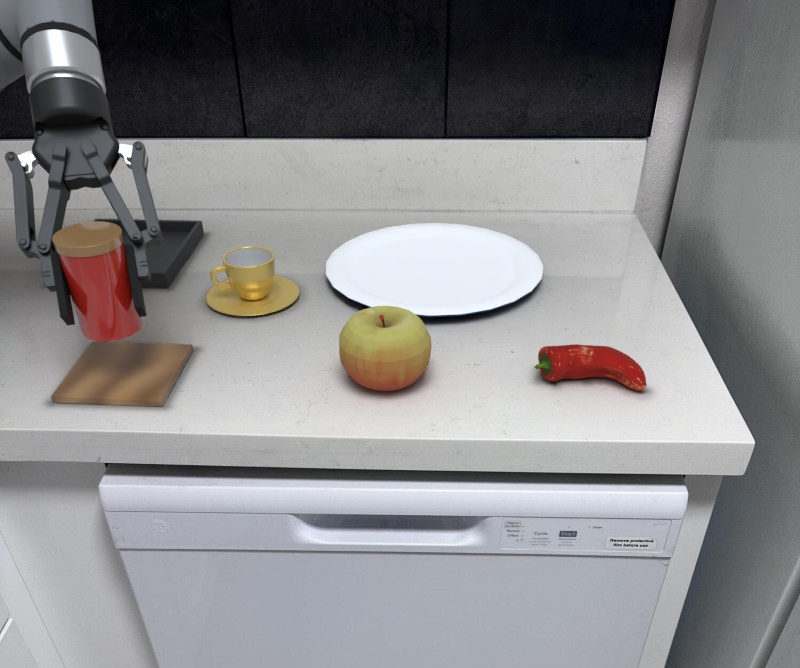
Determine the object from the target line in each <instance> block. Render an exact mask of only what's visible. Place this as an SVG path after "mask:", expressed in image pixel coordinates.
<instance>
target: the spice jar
mask: <svg viewBox="0 0 800 668" xmlns="http://www.w3.org/2000/svg"><path fill="white" fill-rule="evenodd" d="M93 221H94V220H93ZM93 221H84V222H78V223H75V224H71V225H67V226H64V227H62V229H61V230H59V231H57V232H56V233H55V234H54V235H53V237H52V241H53V244H54V248H55V250H56V252H57V254H58V257H59V260H60V263H61V266H62V270H63V273H64V276H65V279H66V282H67V286H68V289H69V292H70V296H71V303H72V306H73V308H74V311H75V314H76V317H77V321H78V324H79V328H80V330H81V334H82V335H83V337H85V338H86V339H88V340H90V341H100V342H118V341H121V340H124V339H128V338H130V337H132V336H134V335H136V334H138V333H139V332H140V331H141V330H142V329H143V328H144V326H145V321H144V317H139V316H138V314H137V312H136V310H135V307H134V301H133V295H132V289H131V283H130V277H129V271H128V265H127V259H126V253H125V247H124V237H123V233H122V229H121V228H120V227H119V226H118V225H116V224H114V223H110V222H100V221H94V222H93Z"/></svg>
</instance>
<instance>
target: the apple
mask: <svg viewBox="0 0 800 668" xmlns="http://www.w3.org/2000/svg"><path fill="white" fill-rule="evenodd" d="M338 343H339V345H338V346H339V347H338V355H339V359H340V360H339V361H340V364H341V366H342V367H343V369H344V370H345V371H346V372H347V374H348V376H350V378H351V379H352V380H353V381H354V382H355V383H356V384H358V385H360V386H362V387H364V388H367V389H368V390H373V391H378V392H392V391H398V390H402V389H404V388H406V387H409V386H410V385H412V384H414V383H415V382H416V381H417V380H418V379H419V378H420V377H422V376H423V374H425V371H427V368H428V366H429V365H430V359H431V354H432V336H431V334H430V333H429V331H428V328H427V326H426V325H425V323H424V321H423V320H422V318H421V317H420V316H417V315H415V314H414V313H412V312H411V311H409V310H406V309H403V308H400V307H393V306H375V307H371V308H369V307H366V308H364V309H361V310H359V311H357V312H356V313H353V314H352V316H350V317H349V319H348V320H347V321H346V323H345V324H344V325H343V326H342V328H341V330H340V333H339V339H338Z"/></svg>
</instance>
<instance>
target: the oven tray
mask: <svg viewBox="0 0 800 668" xmlns="http://www.w3.org/2000/svg"><path fill="white" fill-rule="evenodd" d="M133 219H134V221H135V223H136V225H137V227H138V228H139V230H140V232H141V231H143V230H145V229H147V225H146V222H145V219H140V218H139V219H137V218H136V219H135V218H133ZM94 221H100V222H110V223H114V224H116V225H118V226H119V227H120V228H121V229H122V233H123V237H124V245H127V244H132V243H131V241H130V239H129V237H128V235H127V234H126V232H125V230H124V228H123V226H122V224H121V223H120V221H119V219H118V218H95V219H93V220H92V222H94ZM158 221H159V225H160V228H161V232H162V236H163V243H162V244H161V245H154V246H152V247H150V248H149V249H148V252H147V254H148V260H149V267H150V272H151V279H150V281H146V282H141V285H142V289H143V288H145V289H169V288H170V286H171V285H172V284H173V282H174V281H175V279H176V277H177V276H178V274H179V273H180V271H181V270H182V269H183V267H184V266H185V264H186V262H187V261H188V259H189V258H190V256H191V255H192V254H193V252H194V251H195V249H196V248H197V246H198V245H199V243H200V242H201V240H202V239H203V237H204V236H205V232H204V226H203V221H202V220H191V219H189V220H187V219H158Z"/></svg>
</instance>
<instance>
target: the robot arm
mask: <svg viewBox="0 0 800 668" xmlns="http://www.w3.org/2000/svg"><path fill="white" fill-rule="evenodd" d="M94 17H95V16H94V9H93V0H0V92H2V91H4V89H5V88H6V87H7V86H9V85H10V84H12V83H14V82H15V81H17V80H18V79H20V78H21V77H23V76H24V77H25V84H26V90H27V92H28V101H29V108H30V114H31V120H32V126H33V132H34V141H33V143H32V144H31V145H32V146H31V150H28V151H25V152H23V153H19V154H17V153H16V152H15V151H12V150H11V151H10V150H9V151H7V152H6V153H5V155H4V160H5V162H6V164H7V166H8V168H9V171H10V173H11V175H12V193H13V204H14V205H13V207H14V221H15V222H14V224H15V236H16V237H15V238H16V245H17V246H18V248H19V249H20V251H21V252H22V253H23V255H24V256H25V257H26V258H28V259H34V258H35V259H38V260H39V263H40V268H41V274H42V275H41V276H42V281H43V283H44V285H45V287H46V288H47V290H48V291H49V292H50V293H54V292H55V293H56V300H57V305H58V312H59V317H60V318H61V320H63V322H64V323H65V325H66V326H75V325H76V321H75V316H74V315H75V314H74V310H73V302H72V298H71V295H70V292H69V289H68V286H67V282H66V279H65V276H64V273H63V270H62V266H61V263H60V260H59V257H58V254H57V252H56V250H55V248H54V244H53V241H52V237H53V235H54V234H55V233H56V232H57V231H59V230H61V229H63V228H64V221H65V215H66V211H67V204H68V202H69V201H70V199H71V194H72V191H77V190H80V189H84V188H88V189H89V188H90V189H100V188H101V190H102V193H103V194H104V196H105V197H106V199H107V200H108V201H107V202H108V203H109V205H110V206H111V208H112V210H113V211H114V214H115V215H116V217H117V219H119V221H120V223H121V224H122V226H123V228H124V230H125V232H126V234H127V235H128V237H129V239H130V241H131V243H132V244H127V245H124V247H125V253H126V259H127V265H128V271H129V277H130V283H131V289H132V295H133V301H134V307H135V310H136V312H137V314H138V316H139V317H143V318H144V317H147V315H148V314H147V310H146V303H145V298H144V293H143V292H144V291H143V288H142V285H141V282H146V281H150V279H151V272H150V267H149V260H148V254H147V252H148V249H149V248H150V247H152V246H154V245H161V244H162V243H163V236H162V232H161V228H160V225H159V221H158V220H159V218H158V217H159V216H158V214H157V210H156V206H155V202H154V198H153V194H152V191H151V186H150V183H149V179H148V166H149V156H148V153H147V150H146V146H145V144H144V143H143V142H142V141H140V140H137V141H135V142H133V143H132V144H126V143H120V142H119V140H118V138H117V137H116V136H115V135H114V130H113V124H112V118H111V111H110V105H109V100H108V97H107V95H106V94H107V87H106V82H105V76H104V70H103V65H102V58H101V52H100V47H99V44H98V39H97V38H98V37H97V32H96V31H97V30H96V25H95V18H94ZM120 159H123V160H124V163H125V165H126V167H127V168H128V169H129V170H131V171H132V176H133V180H134V183H135V186H136V187H135V188H136V190H137V195H138V199H139V202H140V206H141V210H142V213H143V218H144V220H145V222H146V225H147V229H145V230H143V231H141V232H140V230H139V228H138V227H137V225H136V223H135V221H134V219H135V218H133V215H132V213H131V212H130V210H129V209H128V206H127V205H126V202H125V201H124V199H123V197H122V195H121V194H120V192H119V190H118V188H117V186H116V184H115V182H114V181H113V179H112V177H111V175H112V173H113V171H114V169H115V167H116V165H117V164H118V162H119V161H120ZM38 165H39V166H40V167H41V168H42V169H43V170H44V171H45V172H46V173H47V174H48V179H47V184H48V188H47V193H46V199H45V204H44V209H43V213H42V218H41V222H40V223H41V224H40V228H39V233H38V238H37V231H36V219H35V218H36V217H35V203H34V202H35V201H34V190H33V189H34V187H33V184H32V181H31V180H32V179H33V178H34V177H35V174H36V172H35V171H36V170H35V168H36V166H38Z"/></svg>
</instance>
